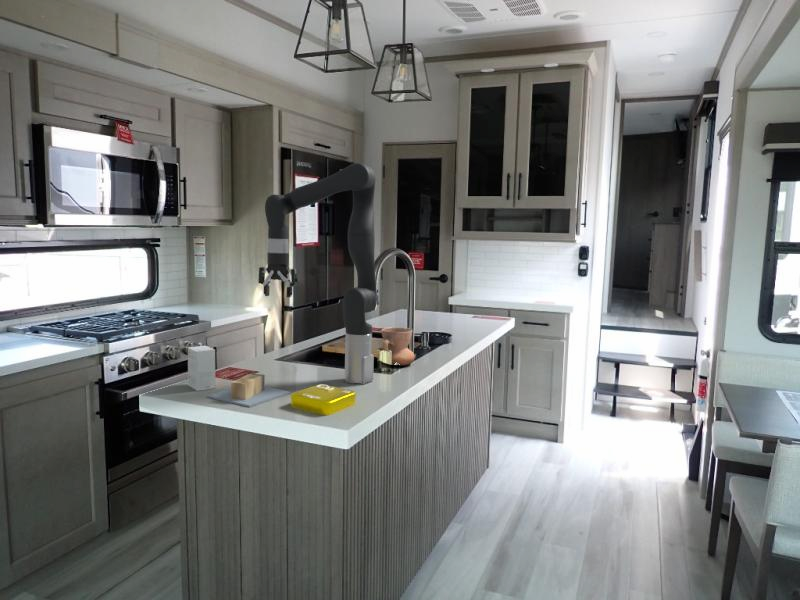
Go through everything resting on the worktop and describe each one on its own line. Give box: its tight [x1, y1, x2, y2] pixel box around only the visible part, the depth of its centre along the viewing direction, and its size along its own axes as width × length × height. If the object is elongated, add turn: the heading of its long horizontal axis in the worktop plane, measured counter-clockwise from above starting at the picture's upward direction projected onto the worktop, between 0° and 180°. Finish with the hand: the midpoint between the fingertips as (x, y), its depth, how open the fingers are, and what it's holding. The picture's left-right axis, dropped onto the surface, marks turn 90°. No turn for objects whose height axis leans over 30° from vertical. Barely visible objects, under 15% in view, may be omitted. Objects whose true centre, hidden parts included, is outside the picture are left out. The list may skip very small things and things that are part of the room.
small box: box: [187, 345, 216, 392], centre depth 194 cm, size 8×6×13 cm
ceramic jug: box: [378, 326, 416, 367], centre depth 235 cm, size 18×14×14 cm
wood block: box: [230, 373, 266, 400], centre depth 186 cm, size 5×5×12 cm
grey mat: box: [206, 385, 291, 408], centre depth 187 cm, size 18×18×1 cm
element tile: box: [290, 383, 356, 416], centre depth 179 cm, size 15×15×5 cm
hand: (277, 296), depth 213 cm, fingers open, 8 cm apart
